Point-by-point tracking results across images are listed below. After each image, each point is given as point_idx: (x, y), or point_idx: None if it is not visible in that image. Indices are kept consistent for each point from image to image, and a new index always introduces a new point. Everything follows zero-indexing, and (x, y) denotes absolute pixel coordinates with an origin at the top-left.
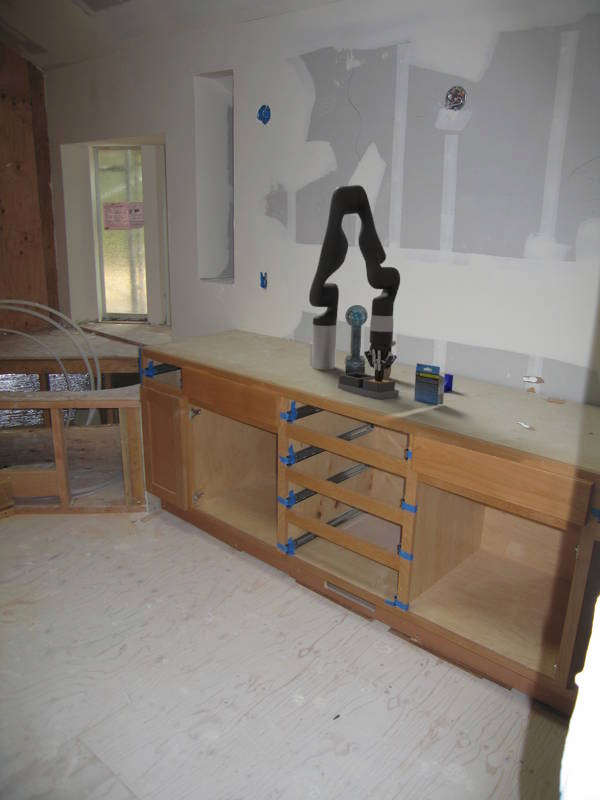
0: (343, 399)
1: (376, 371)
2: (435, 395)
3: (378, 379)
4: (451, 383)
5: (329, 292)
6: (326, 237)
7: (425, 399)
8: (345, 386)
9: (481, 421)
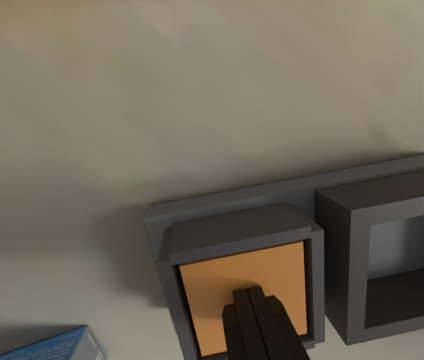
0: (228, 18)
1: (276, 356)
2: None
3: (234, 302)
4: None
5: None
6: None
7: (25, 354)
8: (401, 166)
9: None
